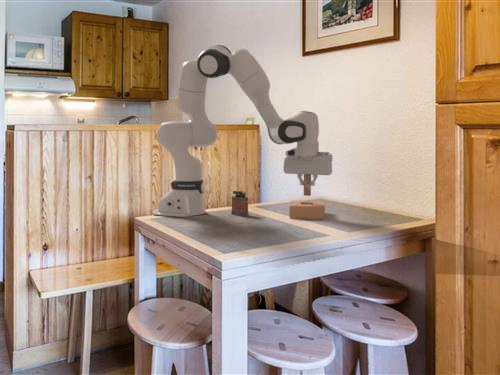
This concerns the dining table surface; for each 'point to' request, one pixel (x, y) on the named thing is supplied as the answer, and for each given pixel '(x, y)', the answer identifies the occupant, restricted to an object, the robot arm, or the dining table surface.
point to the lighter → (239, 203)
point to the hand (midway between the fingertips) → (307, 185)
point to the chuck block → (307, 209)
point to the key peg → (307, 185)
